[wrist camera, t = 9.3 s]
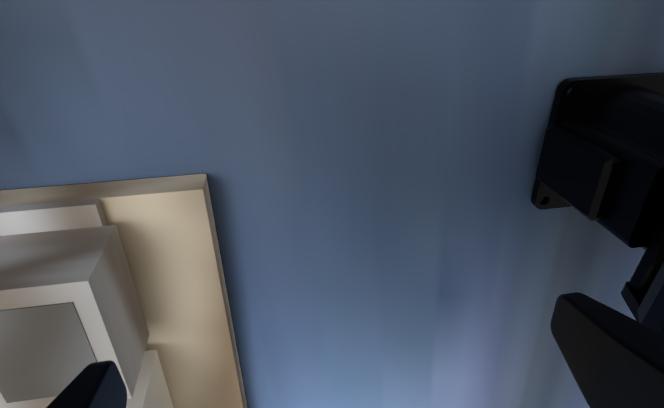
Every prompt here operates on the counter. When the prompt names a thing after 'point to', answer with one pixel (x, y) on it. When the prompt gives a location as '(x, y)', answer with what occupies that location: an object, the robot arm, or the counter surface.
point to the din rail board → (171, 279)
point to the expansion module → (150, 385)
